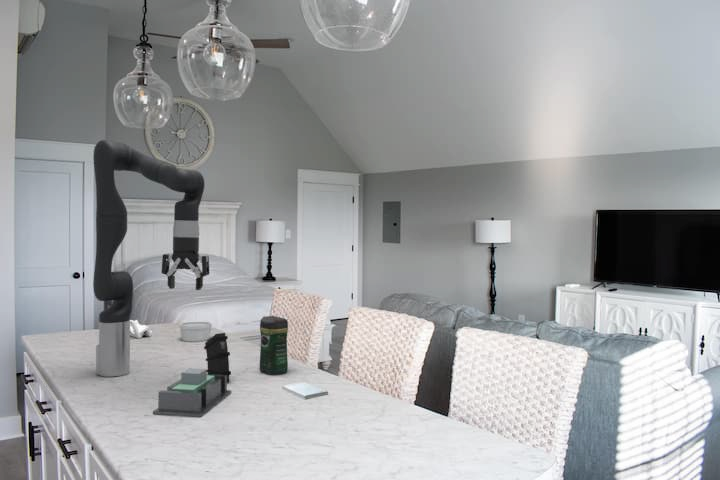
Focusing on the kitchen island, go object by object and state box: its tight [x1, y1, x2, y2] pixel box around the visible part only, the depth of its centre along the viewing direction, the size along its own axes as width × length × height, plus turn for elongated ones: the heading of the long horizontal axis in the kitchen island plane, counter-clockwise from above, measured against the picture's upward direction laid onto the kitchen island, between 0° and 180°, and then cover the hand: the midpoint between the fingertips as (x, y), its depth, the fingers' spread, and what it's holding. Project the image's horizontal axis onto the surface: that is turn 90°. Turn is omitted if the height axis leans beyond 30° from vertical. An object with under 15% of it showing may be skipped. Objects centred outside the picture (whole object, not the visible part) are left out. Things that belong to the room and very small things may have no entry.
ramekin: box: [179, 320, 213, 343], centre depth 237 cm, size 13×13×7 cm
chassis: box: [152, 373, 232, 418], centre depth 152 cm, size 21×13×6 cm, turn 172°
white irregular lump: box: [130, 319, 153, 340], centre depth 242 cm, size 12×6×11 cm, turn 46°
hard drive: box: [281, 381, 329, 400], centre depth 164 cm, size 2×8×12 cm
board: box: [172, 367, 215, 392], centre depth 152 cm, size 14×6×5 cm, turn 172°
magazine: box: [203, 332, 232, 384], centre depth 176 cm, size 4×13×15 cm, turn 36°
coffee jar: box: [259, 315, 289, 375], centre depth 186 cm, size 10×8×19 cm
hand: (185, 289), depth 168 cm, fingers open, 8 cm apart
